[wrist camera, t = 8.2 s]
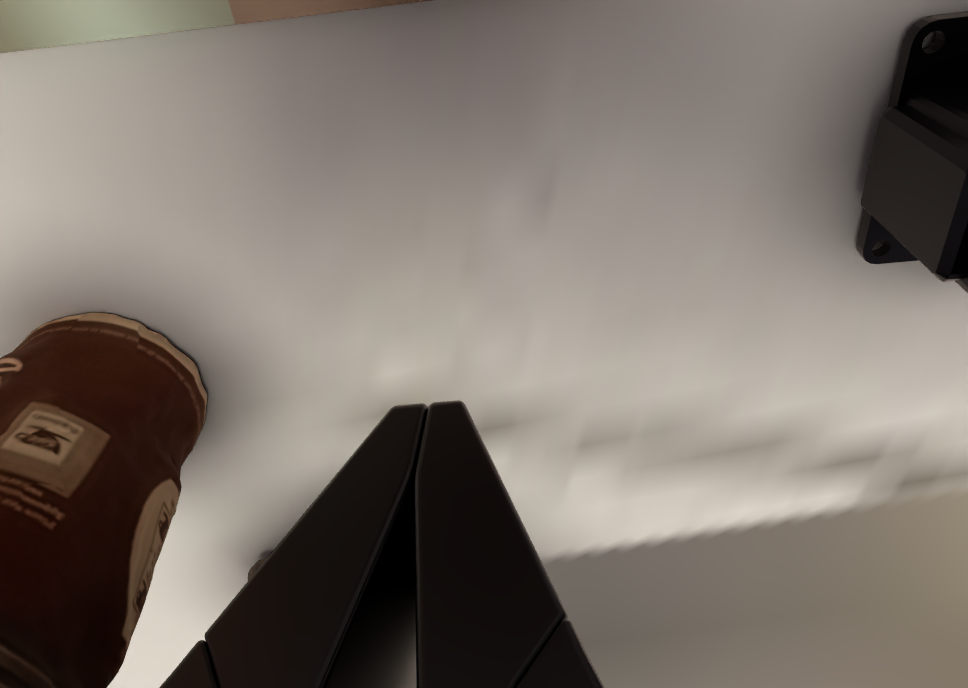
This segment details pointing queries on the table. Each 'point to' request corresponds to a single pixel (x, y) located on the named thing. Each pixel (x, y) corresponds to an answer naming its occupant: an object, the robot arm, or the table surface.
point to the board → (144, 17)
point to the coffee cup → (86, 491)
